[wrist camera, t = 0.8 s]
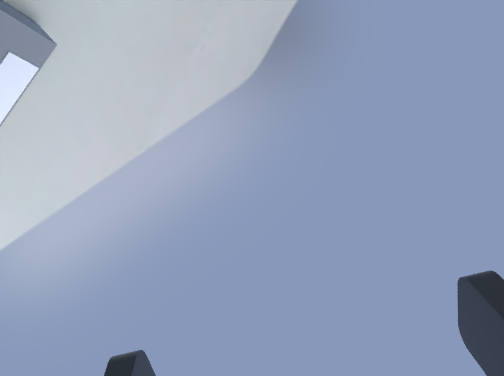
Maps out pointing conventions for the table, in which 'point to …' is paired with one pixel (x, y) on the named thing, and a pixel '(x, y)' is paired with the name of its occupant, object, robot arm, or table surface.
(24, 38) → the switch console
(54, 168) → the table surface
